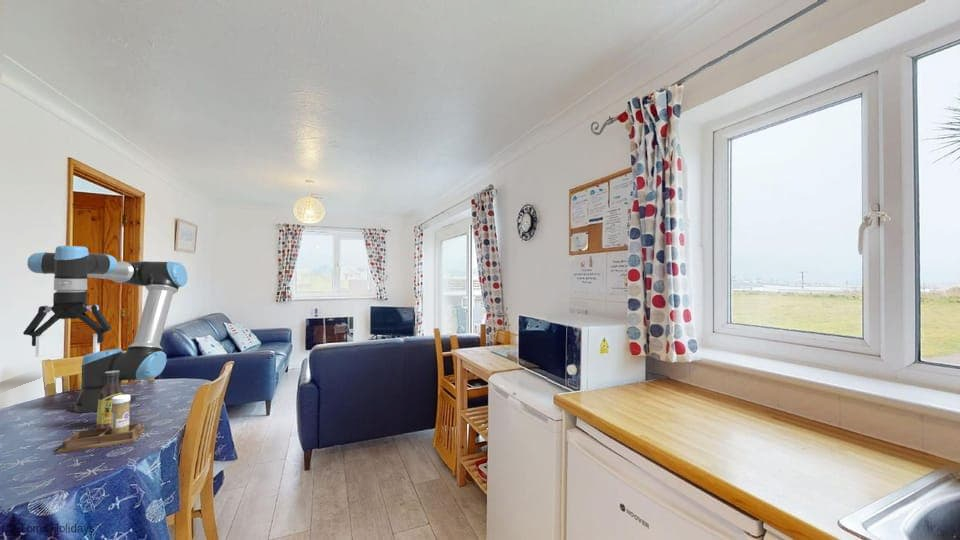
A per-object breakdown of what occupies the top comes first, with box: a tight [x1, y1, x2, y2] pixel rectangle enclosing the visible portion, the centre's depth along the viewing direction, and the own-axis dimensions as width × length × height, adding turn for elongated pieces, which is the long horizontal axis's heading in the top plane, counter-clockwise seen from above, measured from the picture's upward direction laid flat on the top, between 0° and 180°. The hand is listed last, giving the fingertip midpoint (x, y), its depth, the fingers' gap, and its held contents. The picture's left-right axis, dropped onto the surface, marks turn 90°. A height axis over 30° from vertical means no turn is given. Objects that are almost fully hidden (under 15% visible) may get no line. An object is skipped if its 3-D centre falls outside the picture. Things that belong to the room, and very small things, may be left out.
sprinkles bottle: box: [111, 393, 131, 434], centre depth 122 cm, size 5×5×14 cm
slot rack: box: [55, 422, 148, 455], centre depth 120 cm, size 12×18×3 cm, turn 117°
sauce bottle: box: [96, 371, 123, 429], centre depth 132 cm, size 6×6×20 cm
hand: (68, 354), depth 121 cm, fingers open, 13 cm apart
